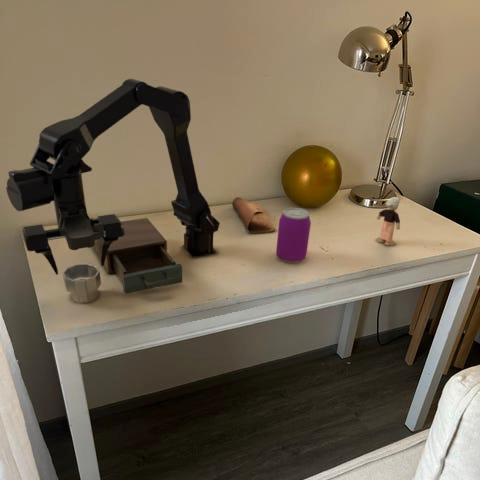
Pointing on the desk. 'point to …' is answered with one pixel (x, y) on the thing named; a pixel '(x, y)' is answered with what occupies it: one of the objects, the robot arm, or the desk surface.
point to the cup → (82, 282)
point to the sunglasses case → (252, 216)
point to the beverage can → (293, 235)
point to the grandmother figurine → (389, 221)
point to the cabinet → (133, 239)
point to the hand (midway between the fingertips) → (79, 269)
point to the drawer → (145, 268)
